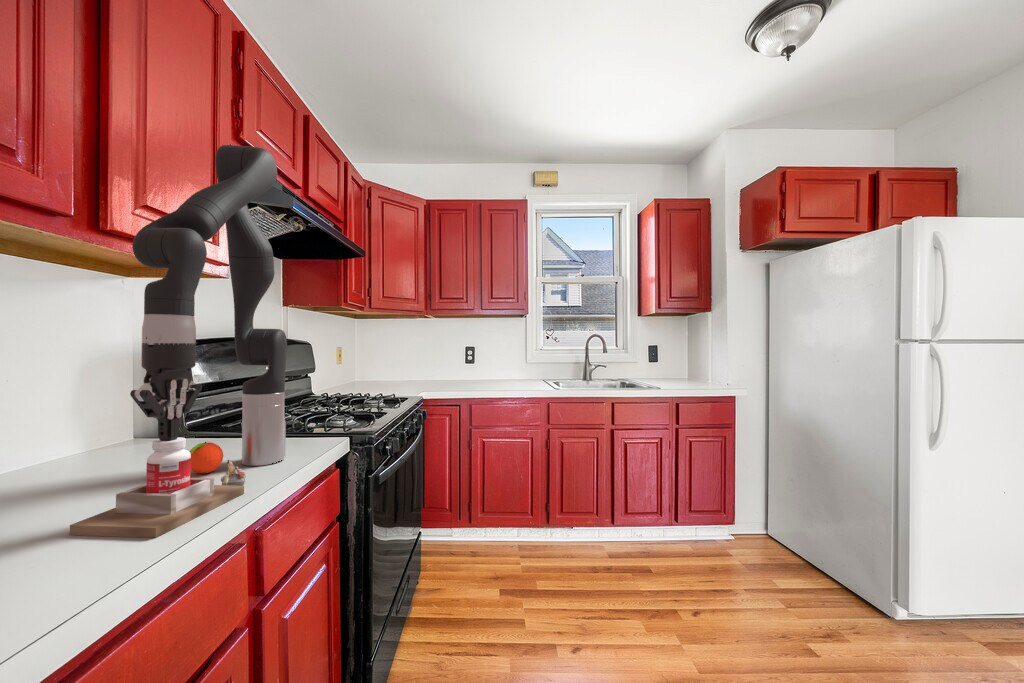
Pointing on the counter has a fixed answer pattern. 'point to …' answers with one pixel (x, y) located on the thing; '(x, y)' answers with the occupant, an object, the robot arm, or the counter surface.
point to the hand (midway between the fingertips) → (168, 440)
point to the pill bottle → (168, 467)
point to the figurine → (233, 476)
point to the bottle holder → (156, 510)
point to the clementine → (205, 457)
